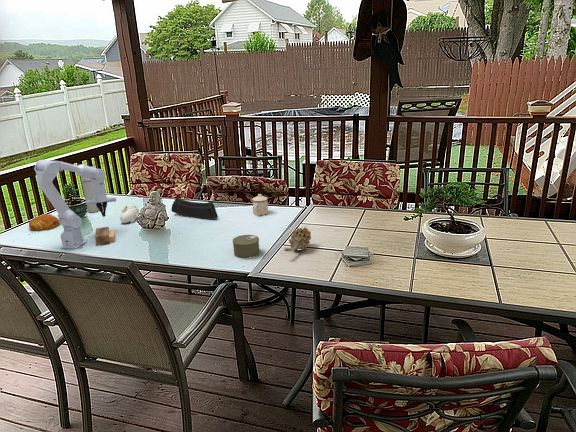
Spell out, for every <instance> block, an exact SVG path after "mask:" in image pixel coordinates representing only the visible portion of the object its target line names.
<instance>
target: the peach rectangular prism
mask: <svg viewBox="0 0 576 432" xmlns="http://www.w3.org/2000/svg"><path fill="white" fill-rule="evenodd" d="M108 237H109V242H111V243H116V233H115V230H114V229H112V230H109V235H108Z"/></svg>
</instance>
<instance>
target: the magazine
mask: <svg viewBox="0 0 576 432" xmlns="http://www.w3.org/2000/svg"><path fill="white" fill-rule="evenodd" d="M170 211H171V212H172V213H175V214H177V216H183V217H187V218H190V219H191V218H192V219H200V220H201V219H202V220H203V219H204V220H205V219H206V220H209V219H213V220H214V219H218V218H219V216H218V213H217V210H216V206H215V205H214V203H213V201H209V202H197V201H189V200H185V199H183V198H179V197H178V196H176V197H175V198H174V201H173V203H172V204H171V210H170Z"/></svg>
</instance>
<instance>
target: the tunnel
mask: <svg viewBox="0 0 576 432" xmlns="http://www.w3.org/2000/svg"><path fill="white" fill-rule="evenodd" d="M109 231H110V227H109V226H104V227H96V228H95V234H94V238H95V245H96V246H97V247H99V246H98V245H100V246H105V245H110V242H109V237H108V235H109Z"/></svg>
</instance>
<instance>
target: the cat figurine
mask: <svg viewBox="0 0 576 432" xmlns="http://www.w3.org/2000/svg"><path fill="white" fill-rule="evenodd" d="M139 214H140V210H139V208H138V207H137V206H135V205H133V204H130V205H126V206H124V207H123V209H121V214H120V215H119V220H120V221H121V222H122V223H123V224H128V223H130V224H132V223H134V222H135V220H136V219H137V218H139V217H138V215H139Z"/></svg>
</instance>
